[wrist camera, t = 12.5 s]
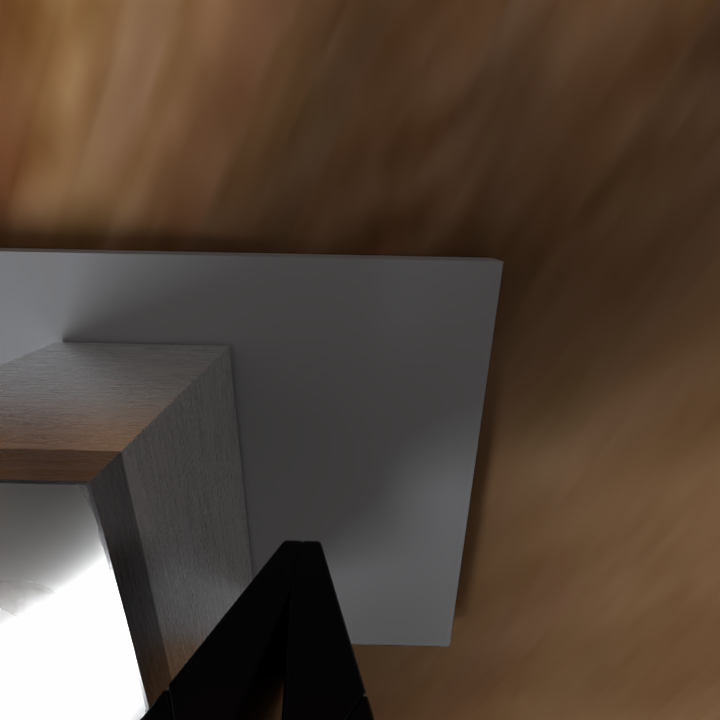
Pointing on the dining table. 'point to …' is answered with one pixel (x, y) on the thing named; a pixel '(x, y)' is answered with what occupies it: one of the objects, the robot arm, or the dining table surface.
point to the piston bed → (312, 397)
